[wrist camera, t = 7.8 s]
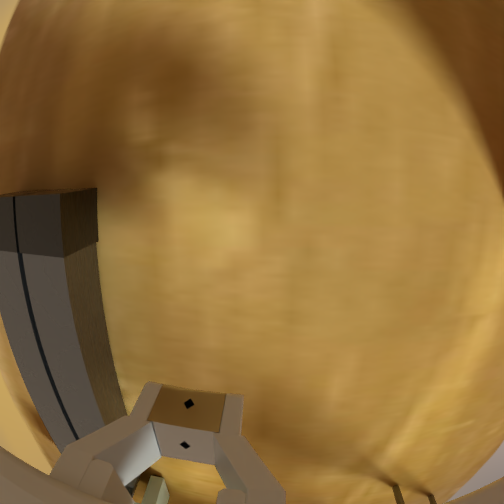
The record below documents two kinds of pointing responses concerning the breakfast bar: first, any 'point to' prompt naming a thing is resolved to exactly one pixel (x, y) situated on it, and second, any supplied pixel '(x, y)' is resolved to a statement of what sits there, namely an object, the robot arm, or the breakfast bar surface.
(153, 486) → the pale green bracket
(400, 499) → the juicer
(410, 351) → the breakfast bar surface
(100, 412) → the tongs arm
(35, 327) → the base
